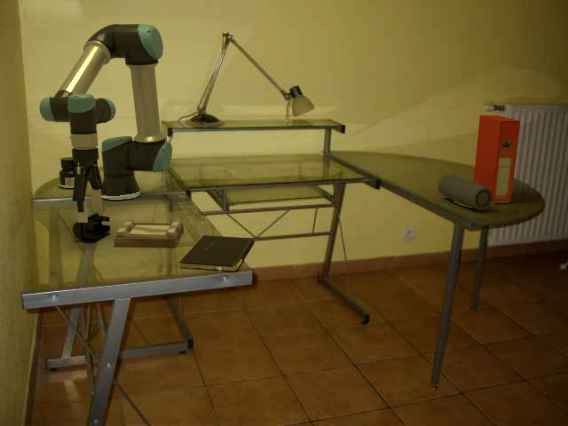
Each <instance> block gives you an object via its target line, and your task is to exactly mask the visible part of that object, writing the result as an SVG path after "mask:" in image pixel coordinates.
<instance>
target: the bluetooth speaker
mask: <svg viewBox="0 0 568 426" xmlns="http://www.w3.org/2000/svg"><path fill="white" fill-rule="evenodd" d="M473 181H474V180H470V179H468V178H467V179H466V178H464V177H460V176H456V175H452V174H445V175H443V176H442V177H441V178H440V180H439V182H438V184H437V189H438V192H439V193H440V194H441V195H442V196H445V197H446V198H449V199H450V200H452V201H453V200H454V201H457V202H459V203H461V204H464V205H467V206H470V207H472V208H471V209H476V210H479V211H480V210H486V209H487V208H489V207H490V205H492V204H491V203H492V200H493V194H492V192H491V190H490V189H488V188H487V187H485V186H482V185H480V184H478V183H475V182H473Z"/></svg>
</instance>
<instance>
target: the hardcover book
mask: <svg viewBox="0 0 568 426" xmlns="http://www.w3.org/2000/svg"><path fill="white" fill-rule="evenodd" d="M254 245H255V239H254V238H253V237H239V236H237V237H235V236H225V235H224V236H223V235H222V236H221V235H208V234H207V235H205V234H204V235H202V236H201V238H200V239H199V240H198V241H197V242H196V243H195V244H194V245H193V247H192V248H191V249H190V250H189V251H188V252H187V253H186V254H185V255H184V256H183V257H182V258H181V260H180V261H179V262H178V264H180V267H181V266H185V267H191V268H212V267H220V266H223V267H224V266H225V267H233V266H236V264H237V263H238V262H239V261H240V259H242V260H243V262H244V261H245V259H246V258H247V256H248V255H249V253H250V251H251V250H252V248H253V247H254ZM191 268H190V269H191Z"/></svg>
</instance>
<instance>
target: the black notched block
mask: <svg viewBox="0 0 568 426" xmlns="http://www.w3.org/2000/svg"><path fill="white" fill-rule="evenodd" d="M87 218H88V222H87V223H84V222H78V221H76V222H75V223H74V224H73V226H72V234H73V236H74V237H75V238H76V239H77V240H78V241H80V242H82V243H88V244H96V243H98V242H99V241H102V240H103V239H105V238H107V237H108V236H110V235H111V233H110V231H111V225H109V224H103V222H107V223H110V222H111V221H110V218H111V217H110V216H105V215H100V213H99V212H95V213H92V214H91V215H87Z"/></svg>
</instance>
